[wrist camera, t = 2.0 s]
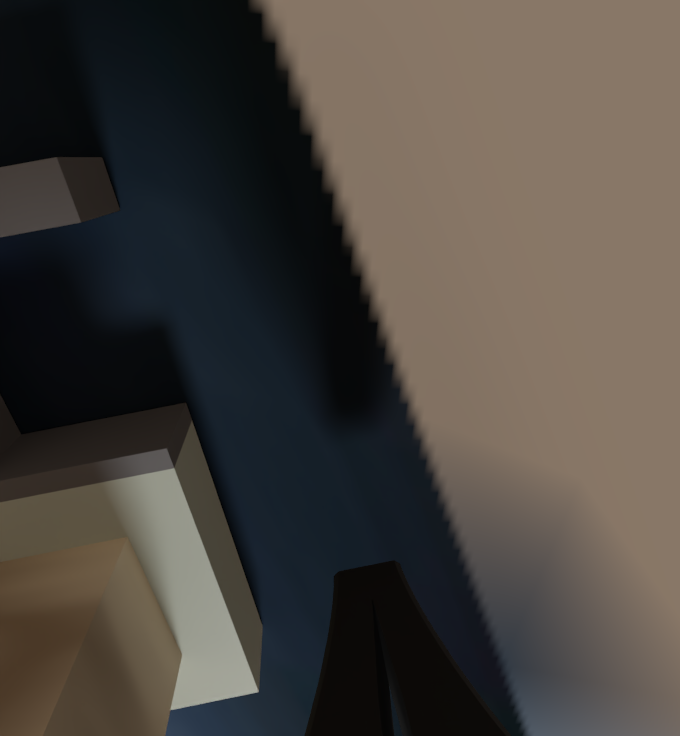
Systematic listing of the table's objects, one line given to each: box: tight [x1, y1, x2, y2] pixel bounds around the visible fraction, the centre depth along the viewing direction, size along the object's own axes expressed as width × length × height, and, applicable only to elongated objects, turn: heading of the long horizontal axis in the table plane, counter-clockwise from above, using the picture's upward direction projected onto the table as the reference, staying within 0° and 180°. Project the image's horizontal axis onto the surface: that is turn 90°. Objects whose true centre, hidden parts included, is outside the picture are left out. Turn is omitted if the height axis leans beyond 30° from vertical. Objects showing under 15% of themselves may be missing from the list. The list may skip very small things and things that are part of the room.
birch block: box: [0, 537, 182, 736], centre depth 10 cm, size 4×4×4 cm
